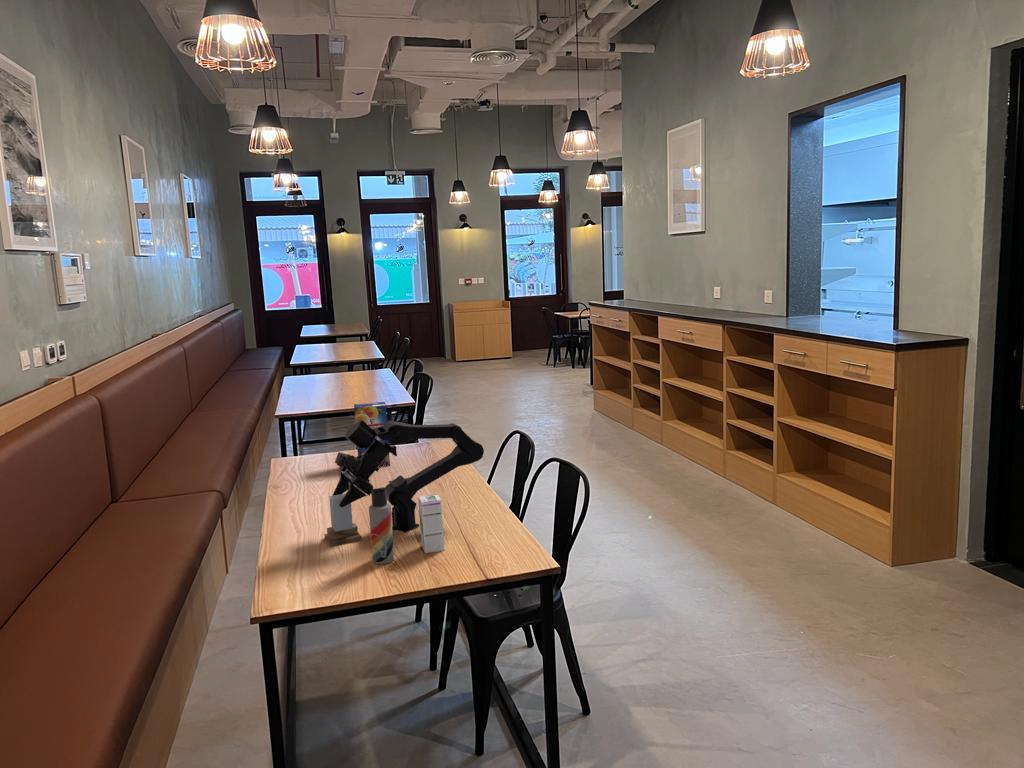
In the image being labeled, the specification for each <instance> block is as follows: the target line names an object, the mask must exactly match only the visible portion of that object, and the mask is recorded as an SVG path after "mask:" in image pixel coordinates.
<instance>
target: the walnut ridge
mask: <svg viewBox="0 0 1024 768" xmlns="http://www.w3.org/2000/svg"><path fill="white" fill-rule="evenodd" d="M352 523H353V528H352V529H347V530H341V531H336V532H335V530H334V529H333V527H332V526H330V527H329V526H328V527H326V533H324V534H323V535H324V540H325V541H326V542H327V544H328V545H329V547H333V546H339V545H343V544H344V545H345V544H349V543H353V542H359V541H362V535H361V534H360V532H359V531H358V530H359V529H358V525H357V524H356V523H355V522H352Z"/></svg>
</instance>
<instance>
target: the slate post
mask: <svg viewBox="0 0 1024 768" xmlns="http://www.w3.org/2000/svg"><path fill="white" fill-rule="evenodd" d="M345 494H346V493H343V494H339V495H333V494H332V495H333V496H332V495H329V496H328V497H329V508H330V509H329V510H330V521H331V527H333V529H334V530H335V532H336V531H341V530H347V529H352V528H353V523H354V522H353V514H352V513H353V511H352V510H353V509H352V503H350V504H348V505H346V506H344V507H340V506H339V504H340V502H341V500H342V499H343V497H344V496H345Z"/></svg>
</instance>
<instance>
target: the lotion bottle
mask: <svg viewBox="0 0 1024 768" xmlns="http://www.w3.org/2000/svg"><path fill="white" fill-rule="evenodd" d="M370 496H371V504H370V505H369V506H368V515H369V529H370V542H371V543H370V544H371V556H372V558H371V559H372V562H373V564H377V565H386V564H389V563H392V562H394V559H395V552H394V551H395V550H394V548H395V547H394V536H393V533H394V531H393V530H392V526H393V525H392V505H391V504H390V503H389V502H388V500H387V495H386V488H385V486H384V487H378V488H373V489H372V490H371V494H370Z"/></svg>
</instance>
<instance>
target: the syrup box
mask: <svg viewBox="0 0 1024 768" xmlns="http://www.w3.org/2000/svg"><path fill="white" fill-rule="evenodd" d="M417 498H418V516H419V527H420V529H419V531H420V540H421V543H420V544H421V548H422V550H423V552H424V553H425V554H426V553H427V554H430V553H436V552H442V551H443V552H444V551H446V550H445V549H446V548H445V531H444V520H443V518H444V517H443V508H442V507H443V505H442V504H443V503H442V500H441V498H440V497H439V495H438V494H426V495H421V496H418V497H417Z"/></svg>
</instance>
